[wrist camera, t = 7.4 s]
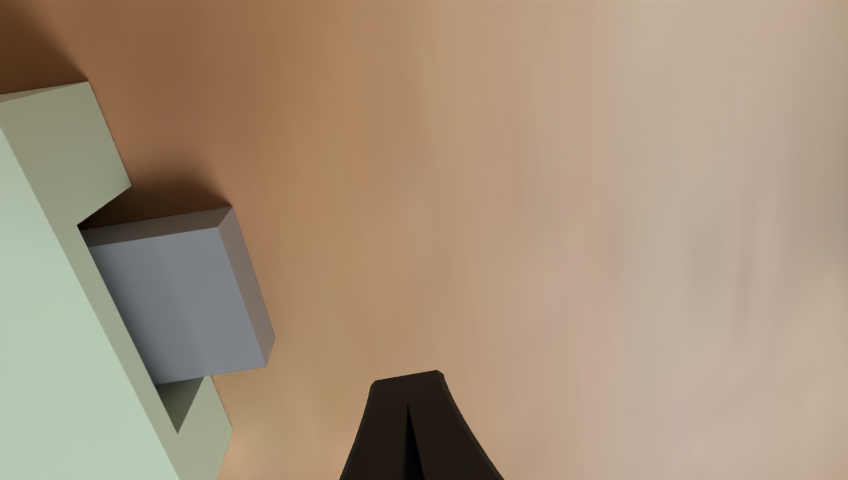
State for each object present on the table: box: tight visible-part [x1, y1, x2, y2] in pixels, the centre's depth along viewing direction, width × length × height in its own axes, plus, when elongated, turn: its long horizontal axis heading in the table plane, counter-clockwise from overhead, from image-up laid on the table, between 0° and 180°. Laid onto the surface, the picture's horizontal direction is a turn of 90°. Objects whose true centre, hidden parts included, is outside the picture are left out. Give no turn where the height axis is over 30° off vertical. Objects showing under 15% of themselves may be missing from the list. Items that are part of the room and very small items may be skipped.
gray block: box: [79, 206, 275, 385], centre depth 16 cm, size 7×5×2 cm
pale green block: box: [0, 81, 233, 480], centre depth 14 cm, size 6×13×4 cm, turn 8°
